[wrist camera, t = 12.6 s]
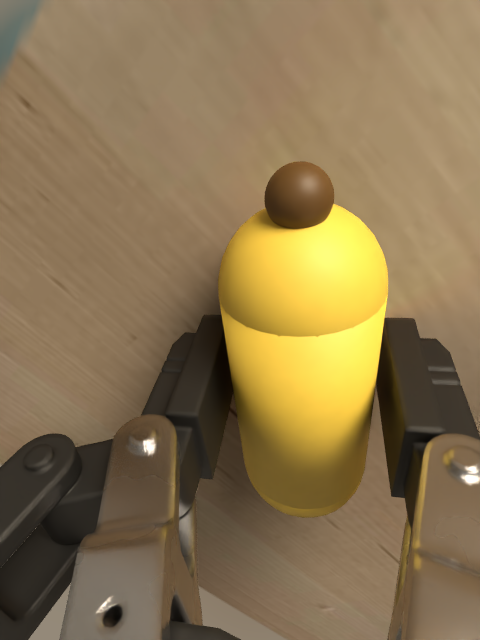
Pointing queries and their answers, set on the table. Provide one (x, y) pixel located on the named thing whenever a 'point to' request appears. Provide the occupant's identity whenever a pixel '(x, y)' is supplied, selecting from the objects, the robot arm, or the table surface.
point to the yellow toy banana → (303, 341)
